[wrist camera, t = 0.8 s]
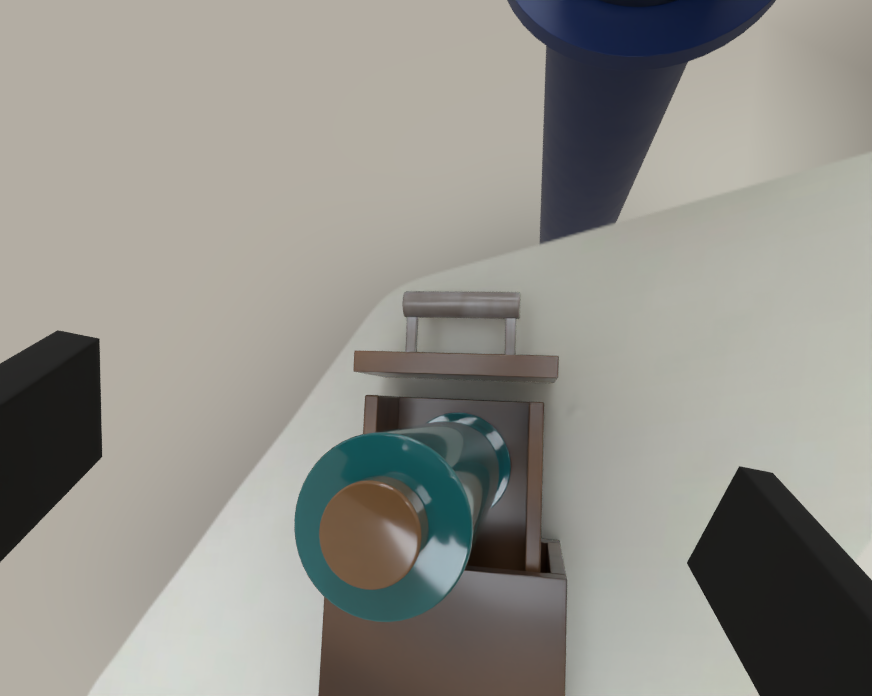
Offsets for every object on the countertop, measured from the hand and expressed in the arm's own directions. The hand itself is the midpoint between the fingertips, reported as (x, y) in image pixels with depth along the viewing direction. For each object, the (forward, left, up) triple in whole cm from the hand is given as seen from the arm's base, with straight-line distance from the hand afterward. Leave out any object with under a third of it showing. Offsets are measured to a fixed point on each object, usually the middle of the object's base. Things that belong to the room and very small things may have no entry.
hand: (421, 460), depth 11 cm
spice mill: (+3, -2, -24) cm, 24 cm away
